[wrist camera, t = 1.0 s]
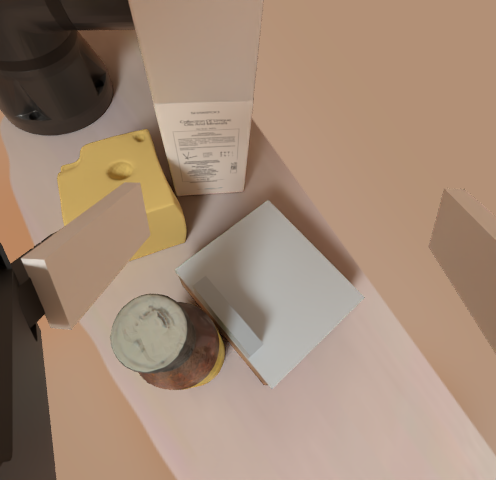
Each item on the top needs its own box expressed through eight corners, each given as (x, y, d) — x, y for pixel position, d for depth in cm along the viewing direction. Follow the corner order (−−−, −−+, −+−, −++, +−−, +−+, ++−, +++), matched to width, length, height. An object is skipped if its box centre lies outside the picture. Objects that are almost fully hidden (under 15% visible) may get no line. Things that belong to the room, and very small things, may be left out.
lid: (176, 272, 35) (170, 258, 31) (267, 204, 39) (271, 184, 35) (271, 388, 31) (278, 389, 27) (361, 299, 35) (378, 289, 31)
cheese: (83, 200, 42) (44, 149, 33) (167, 176, 44) (152, 122, 35) (101, 275, 38) (63, 241, 29) (191, 245, 41) (182, 204, 31)
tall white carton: (237, 138, 47) (250, -91, 24) (244, 192, 44) (266, -16, 21) (174, 141, 46) (126, -95, 24) (176, 196, 43) (122, -17, 20)
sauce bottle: (220, 320, 37) (212, 260, 19) (229, 380, 35) (231, 378, 17) (160, 331, 36) (91, 280, 18) (165, 393, 34) (94, 407, 16)
